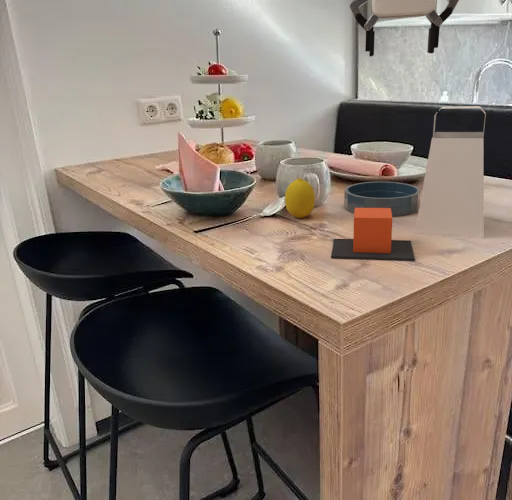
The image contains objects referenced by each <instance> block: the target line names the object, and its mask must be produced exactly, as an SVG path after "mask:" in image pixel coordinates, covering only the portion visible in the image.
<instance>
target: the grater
mask: <svg viewBox="0 0 512 500" xmlns="http://www.w3.org/2000/svg"><path fill="white" fill-rule="evenodd" d="M441 109H442V110H443V109H445V110H446V109H451V110H452V109H480V110H481V111H482V112H483V113H484V118H486V117H487V113H486V112H485V110H484V109H483V108H482V106H481V105H465V106H464V105H463V106H461V105H460V106H459V105H456V106H452V105H451V106H441V107H440V110H441ZM436 121H437V113H435V114H434V116H433V130H432V137H431V141H430V147H429V151H428V152H429V153H428V157H427V163H426V170H425V174H424V179H423V184H422V190H421V194H420V206H419V209H418V211H417V218H416V223H415V229H414V234H424V235H436V236H447V237H449V236H450V237H461V238H462V237H463V238H473V239H474V238H477V239H484V237H485V236H484V235H485V232H484V231H485V229H484V228H485V227H484V224H485V223H484V220H485V219H484V215H485V214H484V212H485V211H484V208H485V206H484V204H485V203H484V202H485V201H484V198H485V197H484V196H485V195H484V191H485V189H484V185H485V184H484V181H485V180H484V179H485V178H484V169H485V167H484V162H485V161H484V157H485V156H484V153H485V151H484V135H485V130H483V131H436ZM485 125H486V120H484V121H483V128H485Z"/></svg>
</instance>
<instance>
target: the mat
mask: <svg viewBox="0 0 512 500" xmlns="http://www.w3.org/2000/svg"><path fill="white" fill-rule="evenodd" d="M412 245H413V244H412V242H411V240H405V239H403V240H402V239H391V253H359V252H353V238H333V243H332V249H331V255H330V259H339V260H340V259H342V260H372V261H373V260H374V261H403V260H410V261H409V262H414V261H413V260H415V261H416V258H415V253H414V249H413V246H412ZM411 260H412V261H411Z"/></svg>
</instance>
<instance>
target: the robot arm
mask: <svg viewBox="0 0 512 500" xmlns="http://www.w3.org/2000/svg"><path fill="white" fill-rule="evenodd" d="M446 1H447V4H446V6H445V8H444V9H443V11H442V12H441V13H440V14H438V12H437V11H436V7H437V0H352V1H351V2H350V3H349V9H350V11H351V13H352V16H353V17H354V19H355V22H356V23H357V24H358V25H359V26H360V27H361V28H362V29H363V30H364V31H365V46H364V47H365V49H364V51H365V52H367V53H368V52H369V53H368V55H369V57H373V56H375V32H376V31H375V30H374V27H375V25H376V24H377V22H378V21H379V20H380V19H381V20H383V19H385V20H386V19H401V18H416V17H424V16H425V18H426V19H427V21H428V22H429V23H430V27H429V28H428V36H427V37H428V38H427V50H426V52H427V53H428V54H434V53H435V49H438V48H439V41H440V29H441V28H440V27H441V26H442V25H443V23H444V22H445V21H446V20H448V18H449V17H450V16H451V15H452V14H453V12H454V10H455V9H456V7H457V5H458V3H459V1H460V0H446ZM368 2H370V12H371V15H370V18H368V19H367V18H366V17H365V16H364V15H363V14H362V12H361V10H360V8H361V7H362V6H364V5H365V4H367V3H368Z"/></svg>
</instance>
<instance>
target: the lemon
mask: <svg viewBox="0 0 512 500" xmlns="http://www.w3.org/2000/svg"><path fill="white" fill-rule="evenodd" d="M284 203H285V208H286V210H287V212H288V213H289V214H290V215H291V216H292V217H295V218H296V219H304V218H305V217H307V216H309V215H310V214H311V213H312V212H313V210H314V208H315V205H316V196H315V191H314V188H313V186H312V185H311V184H310V182H308V181H307V180H304V179H303V178H301V177H298V178H296V179H295V180H293V181H292V182H290V184H288V185H287V187H286V190H285V193H284Z"/></svg>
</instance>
